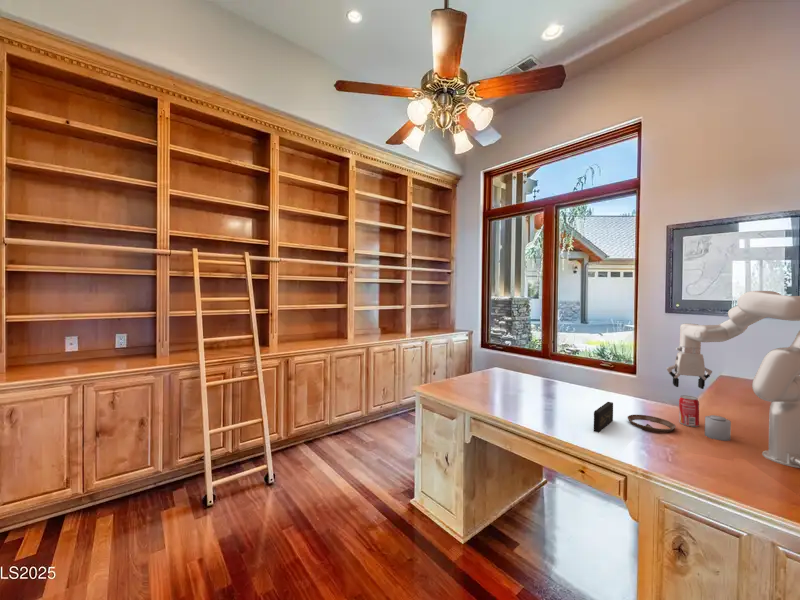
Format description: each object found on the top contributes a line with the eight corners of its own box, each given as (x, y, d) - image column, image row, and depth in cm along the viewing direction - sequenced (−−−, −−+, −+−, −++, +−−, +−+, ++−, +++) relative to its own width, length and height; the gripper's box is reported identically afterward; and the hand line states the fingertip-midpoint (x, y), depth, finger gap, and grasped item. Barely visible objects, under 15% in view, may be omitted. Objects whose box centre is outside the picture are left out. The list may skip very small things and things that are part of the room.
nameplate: (608, 422, 164) (608, 401, 164) (612, 423, 162) (613, 402, 162) (593, 434, 149) (593, 411, 149) (598, 435, 148) (598, 412, 148)
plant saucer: (673, 425, 160) (673, 419, 160) (677, 439, 145) (677, 431, 145) (627, 418, 170) (627, 411, 170) (627, 429, 155) (627, 422, 155)
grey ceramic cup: (735, 443, 141) (735, 421, 140) (711, 440, 143) (711, 419, 143) (723, 435, 148) (723, 415, 148) (700, 433, 151) (701, 413, 150)
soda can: (702, 428, 156) (703, 400, 156) (684, 427, 157) (685, 398, 157) (692, 423, 163) (693, 395, 163) (675, 421, 164) (675, 394, 164)
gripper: (671, 350, 159) (670, 387, 159) (717, 353, 154) (715, 391, 154) (664, 348, 166) (662, 383, 166) (707, 350, 161) (706, 386, 162)
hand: (688, 387), depth 160 cm, fingers open, 9 cm apart
